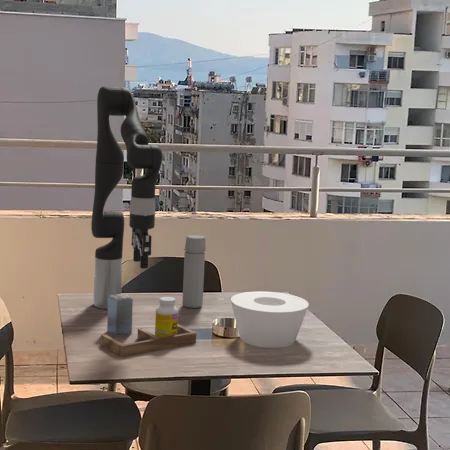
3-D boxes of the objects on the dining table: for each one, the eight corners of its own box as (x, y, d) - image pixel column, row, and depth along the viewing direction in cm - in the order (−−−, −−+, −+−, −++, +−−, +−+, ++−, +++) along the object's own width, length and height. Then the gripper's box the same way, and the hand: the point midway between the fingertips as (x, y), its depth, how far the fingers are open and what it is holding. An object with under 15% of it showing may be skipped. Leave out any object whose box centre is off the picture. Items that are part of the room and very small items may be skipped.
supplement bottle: (173, 344, 215) (175, 302, 213) (151, 342, 216) (153, 300, 214) (179, 337, 222) (181, 297, 220) (158, 335, 223) (159, 294, 221)
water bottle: (203, 309, 254) (206, 239, 250) (180, 308, 254) (183, 238, 250) (204, 302, 263) (207, 234, 259) (182, 301, 263) (185, 233, 259)
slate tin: (107, 331, 224) (108, 294, 223) (122, 328, 228) (123, 292, 226) (115, 336, 220) (116, 299, 218) (131, 333, 223) (132, 297, 222)
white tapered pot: (217, 343, 218) (219, 305, 216) (243, 323, 240) (245, 287, 239) (295, 356, 210) (297, 316, 208) (314, 334, 233) (316, 297, 231)
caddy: (101, 344, 212) (101, 334, 211) (174, 331, 227) (174, 322, 227) (121, 356, 203) (121, 346, 202) (196, 342, 218) (196, 332, 218)
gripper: (124, 208, 222) (122, 259, 225) (135, 216, 209) (133, 270, 212) (148, 207, 224) (146, 259, 227) (161, 216, 211) (158, 270, 214)
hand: (140, 264), depth 219 cm, fingers open, 8 cm apart
